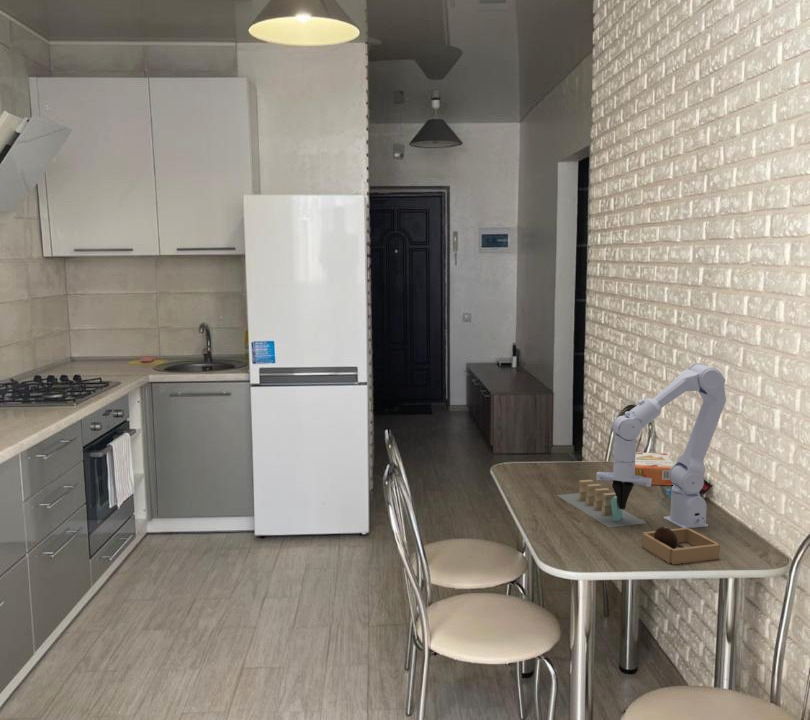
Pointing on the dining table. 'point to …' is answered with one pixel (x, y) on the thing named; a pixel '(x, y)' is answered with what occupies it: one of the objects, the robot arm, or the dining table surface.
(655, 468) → the cracker box
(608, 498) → the tile
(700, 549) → the board and tray
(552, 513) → the dining table surface
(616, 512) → the tile
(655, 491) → the dining table surface
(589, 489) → the tile
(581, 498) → the tile
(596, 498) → the tan wooden block
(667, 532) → the dark brown rounded piece
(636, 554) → the dining table surface
